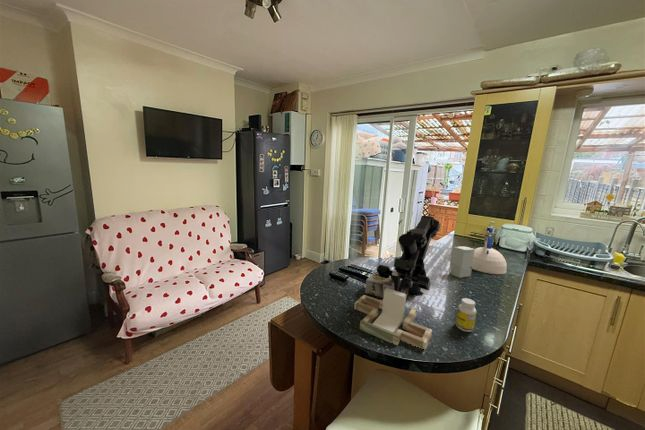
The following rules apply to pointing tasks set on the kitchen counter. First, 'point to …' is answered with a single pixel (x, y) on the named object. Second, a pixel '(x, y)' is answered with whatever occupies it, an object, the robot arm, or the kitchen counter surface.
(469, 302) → the supplement bottle
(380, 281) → the coffee box
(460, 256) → the skincare box
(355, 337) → the kitchen counter surface
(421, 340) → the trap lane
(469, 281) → the kitchen counter surface
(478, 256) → the pale pink dome
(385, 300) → the bookend
